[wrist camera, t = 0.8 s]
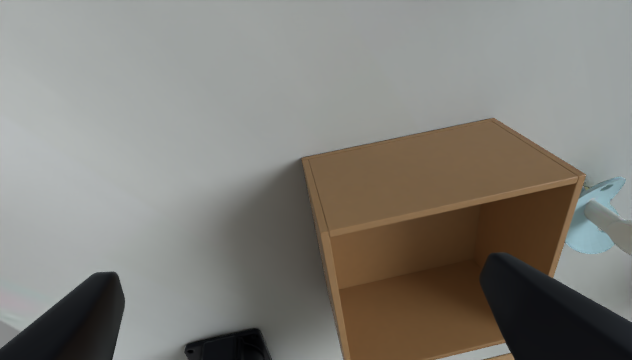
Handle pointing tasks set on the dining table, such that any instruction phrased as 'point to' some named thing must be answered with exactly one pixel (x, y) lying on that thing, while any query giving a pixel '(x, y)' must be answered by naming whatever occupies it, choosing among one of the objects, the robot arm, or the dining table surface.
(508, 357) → the flap
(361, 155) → the carton
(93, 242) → the dining table surface
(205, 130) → the dining table surface
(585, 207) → the pacifier
